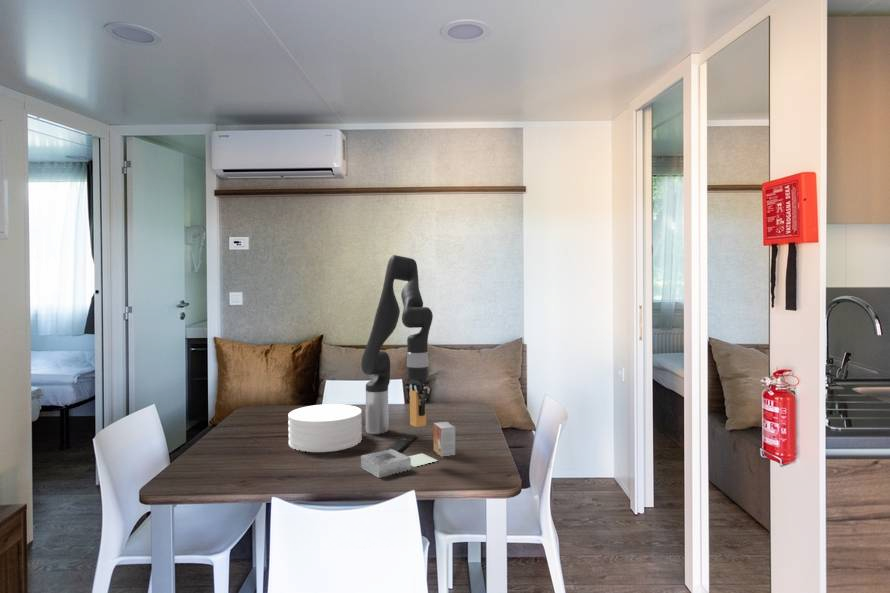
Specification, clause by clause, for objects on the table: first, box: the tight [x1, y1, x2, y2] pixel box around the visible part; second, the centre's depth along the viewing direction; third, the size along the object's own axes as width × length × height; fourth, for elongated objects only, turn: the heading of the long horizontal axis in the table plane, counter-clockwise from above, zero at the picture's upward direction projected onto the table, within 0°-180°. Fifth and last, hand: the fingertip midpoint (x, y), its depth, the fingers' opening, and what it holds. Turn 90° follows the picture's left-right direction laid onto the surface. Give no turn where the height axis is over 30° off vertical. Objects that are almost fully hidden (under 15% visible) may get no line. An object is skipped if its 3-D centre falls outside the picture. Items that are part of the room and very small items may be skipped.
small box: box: [433, 421, 456, 458], centre depth 195 cm, size 8×6×10 cm
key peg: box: [409, 390, 427, 428], centre depth 187 cm, size 4×4×12 cm
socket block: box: [360, 449, 412, 479], centre depth 180 cm, size 12×12×4 cm
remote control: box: [385, 434, 419, 453], centre depth 205 cm, size 5×24×1 cm, turn 163°
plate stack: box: [287, 403, 363, 453], centre depth 212 cm, size 28×28×12 cm
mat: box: [407, 452, 439, 468], centre depth 188 cm, size 10×10×1 cm
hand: (417, 414), depth 187 cm, fingers closed on key peg, 4 cm apart
